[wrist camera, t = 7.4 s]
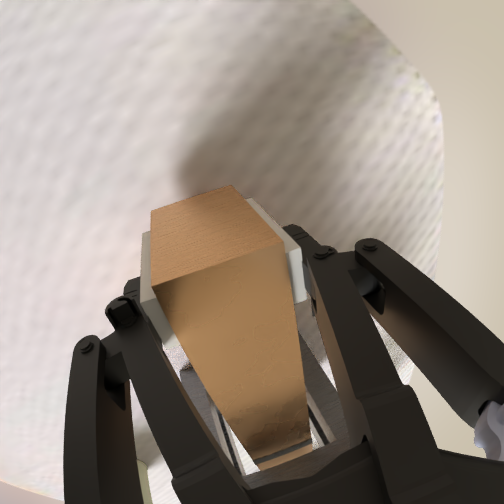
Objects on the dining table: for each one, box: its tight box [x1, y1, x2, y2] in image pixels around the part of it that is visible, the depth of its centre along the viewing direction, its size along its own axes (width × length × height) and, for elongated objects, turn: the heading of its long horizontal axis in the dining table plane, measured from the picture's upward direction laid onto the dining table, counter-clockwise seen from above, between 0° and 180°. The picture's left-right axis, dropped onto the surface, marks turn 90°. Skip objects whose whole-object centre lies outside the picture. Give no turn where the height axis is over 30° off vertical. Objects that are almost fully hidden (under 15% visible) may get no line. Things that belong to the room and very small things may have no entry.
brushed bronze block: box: [150, 185, 313, 471], centre depth 20 cm, size 24×5×8 cm, turn 12°
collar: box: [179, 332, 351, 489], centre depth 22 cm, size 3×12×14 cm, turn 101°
